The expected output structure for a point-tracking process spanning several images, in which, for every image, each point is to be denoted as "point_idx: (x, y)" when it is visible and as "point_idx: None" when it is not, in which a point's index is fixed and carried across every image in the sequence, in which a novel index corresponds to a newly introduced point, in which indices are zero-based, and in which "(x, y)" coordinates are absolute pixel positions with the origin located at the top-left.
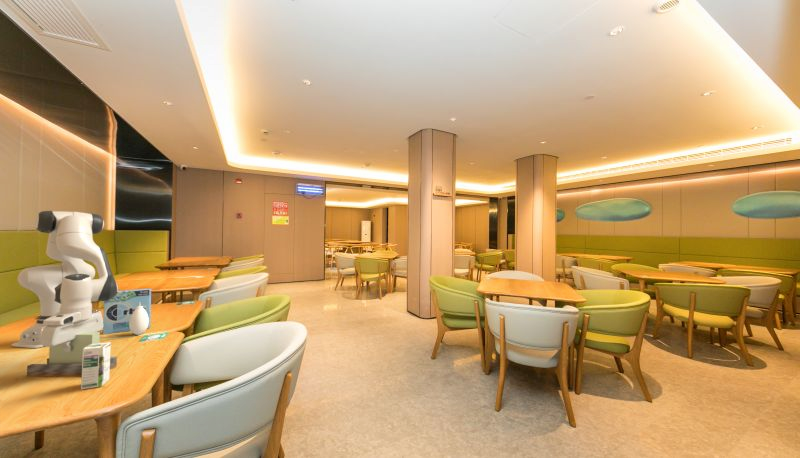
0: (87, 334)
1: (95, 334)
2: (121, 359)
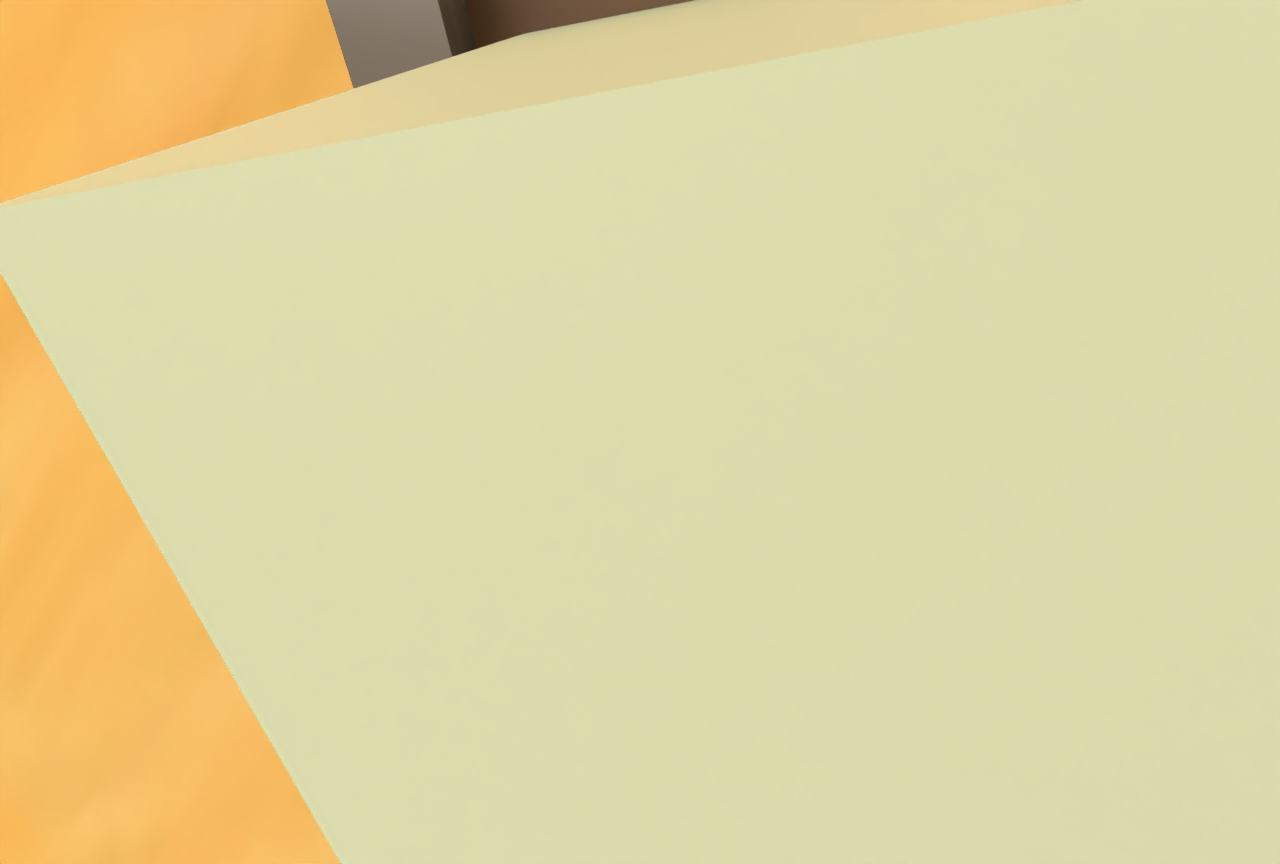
0: (1257, 758)
1: (861, 37)
2: (36, 69)
